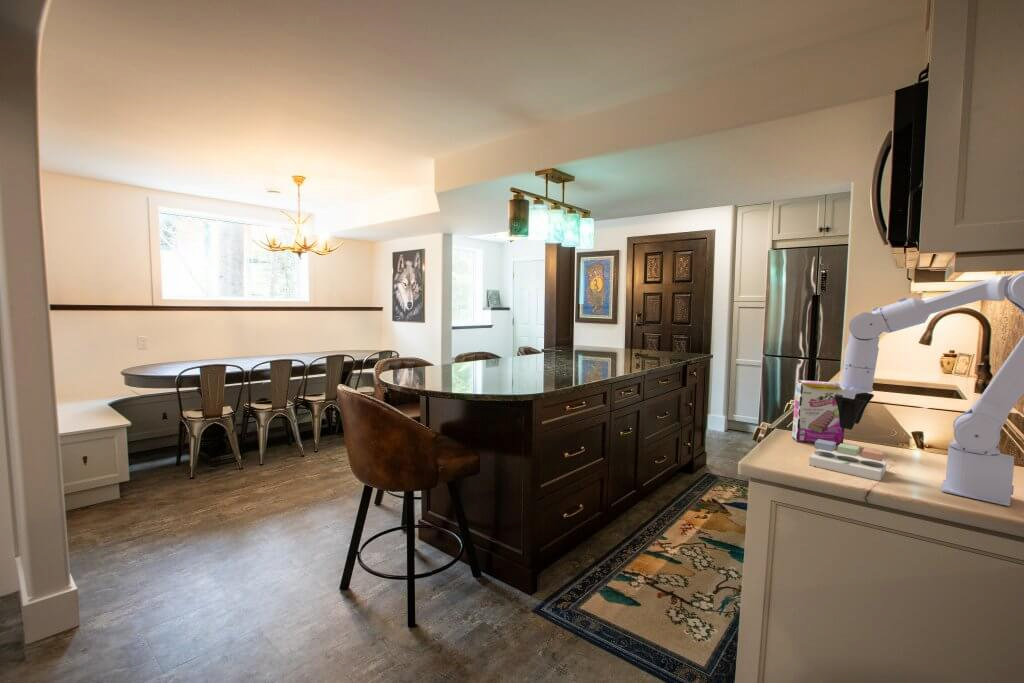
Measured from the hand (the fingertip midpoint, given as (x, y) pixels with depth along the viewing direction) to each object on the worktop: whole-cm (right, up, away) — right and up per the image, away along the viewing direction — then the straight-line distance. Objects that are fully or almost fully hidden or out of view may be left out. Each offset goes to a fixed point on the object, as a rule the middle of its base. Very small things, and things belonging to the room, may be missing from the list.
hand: (849, 425), depth 106 cm
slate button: (-3, -6, +4) cm, 8 cm away
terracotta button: (+3, -7, -3) cm, 8 cm away
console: (0, -10, +1) cm, 10 cm away
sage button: (0, -6, 0) cm, 6 cm away
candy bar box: (+6, -9, +21) cm, 24 cm away
